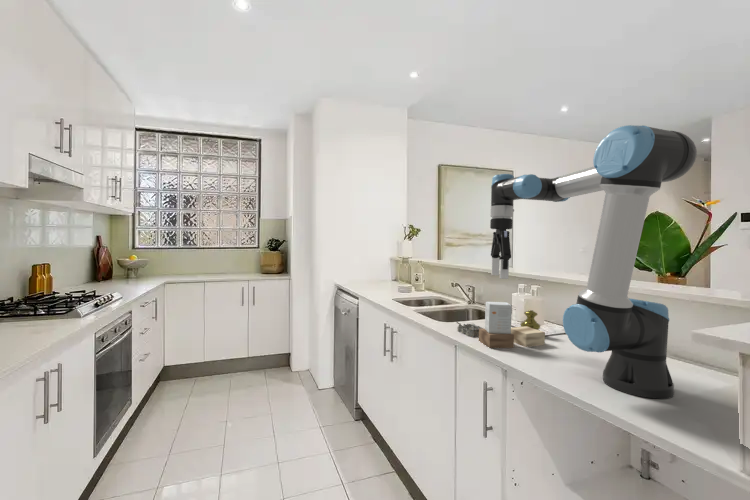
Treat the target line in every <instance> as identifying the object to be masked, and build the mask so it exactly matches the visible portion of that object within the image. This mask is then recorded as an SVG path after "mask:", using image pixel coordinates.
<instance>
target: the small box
mask: <svg viewBox="0 0 750 500" xmlns="http://www.w3.org/2000/svg"><path fill="white" fill-rule="evenodd" d="M512 306H513V305H512V304H510V303H509V302H507V301H505V302H504V301H485V311H484V313H485V314H484V329H485V330H486V331H487V332H488V333H499V334H511V328H512V311H513V310H512V309H513V308H512Z"/></svg>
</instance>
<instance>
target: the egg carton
mask: <svg viewBox="0 0 750 500" xmlns="http://www.w3.org/2000/svg"><path fill="white" fill-rule="evenodd" d="M455 323H456V324H458V326H456V329H457V332H459V333H461V334H463V335H465V336H466V337H472V338H473V337H479V329H484V327H482V326H480V325H476V324H475V323H473V322H472V323H466V324H465V323H463V325H462V324H461V322H458V321H456V322H455Z"/></svg>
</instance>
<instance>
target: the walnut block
mask: <svg viewBox="0 0 750 500" xmlns="http://www.w3.org/2000/svg"><path fill="white" fill-rule="evenodd" d="M479 341H480V342H479ZM478 342H479V343H481V344H482V343H483V345H484V346H485V345H486V346H485V347H487V348H488V347H489V348H488V349H514V348H515V347H514V346H515V343H514V334H512V333H511V334H499V333H488V332H487V331H486V330H485V328H483V329H479V336H478Z"/></svg>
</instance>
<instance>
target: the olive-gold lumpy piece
mask: <svg viewBox="0 0 750 500" xmlns="http://www.w3.org/2000/svg"><path fill="white" fill-rule="evenodd" d="M523 314H524V315H525V316H526V318H525V319H524V321H522V322H521V323H520V327H524V326H527V327H530V328H533V329H536V330H540V328H541V324H540V323H539V322H538V321H536V319H535V317H537V316H538V312H537V311H534V310H531V309H528V310H526V311H524V313H523Z"/></svg>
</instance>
